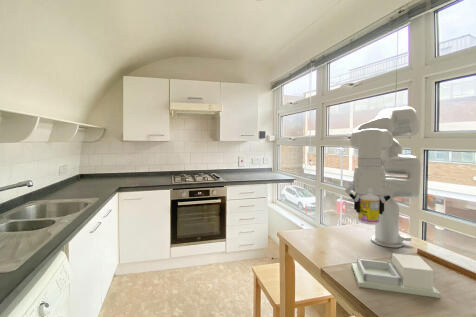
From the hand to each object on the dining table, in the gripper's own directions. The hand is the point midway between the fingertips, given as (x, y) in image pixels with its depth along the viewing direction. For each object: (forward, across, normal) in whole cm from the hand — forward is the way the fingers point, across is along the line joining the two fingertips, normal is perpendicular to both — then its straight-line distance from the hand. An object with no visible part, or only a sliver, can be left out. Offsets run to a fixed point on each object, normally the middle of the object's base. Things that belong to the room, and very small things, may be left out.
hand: (368, 212), depth 84 cm
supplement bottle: (+4, 0, 0) cm, 4 cm away
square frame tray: (+22, -6, +4) cm, 23 cm away
